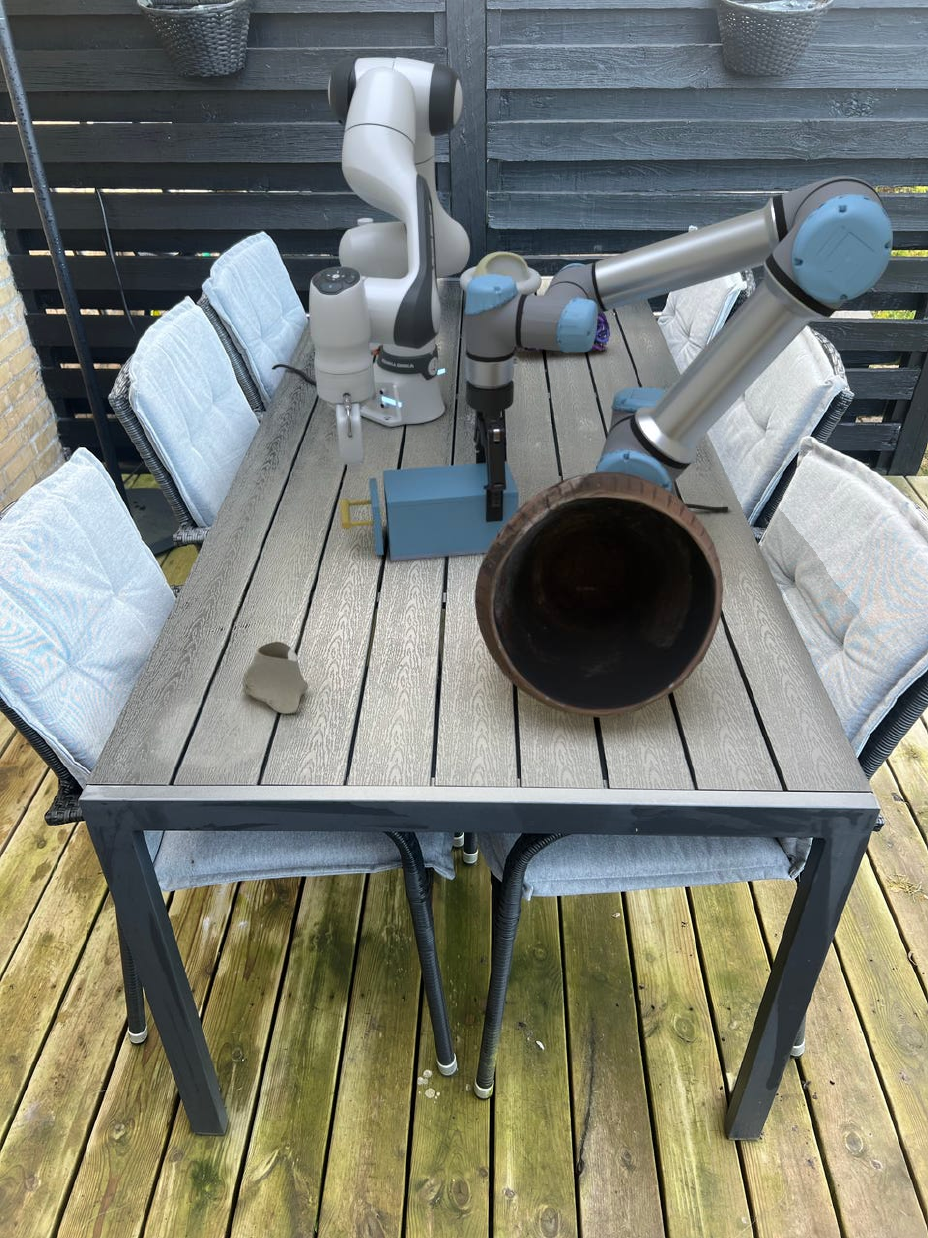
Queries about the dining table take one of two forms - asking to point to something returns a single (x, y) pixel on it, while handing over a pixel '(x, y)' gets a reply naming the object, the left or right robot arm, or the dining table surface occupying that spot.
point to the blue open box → (442, 510)
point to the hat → (505, 271)
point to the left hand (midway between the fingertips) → (352, 462)
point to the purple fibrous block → (599, 336)
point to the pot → (600, 594)
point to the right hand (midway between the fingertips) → (488, 502)
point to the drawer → (375, 522)
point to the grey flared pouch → (275, 678)
